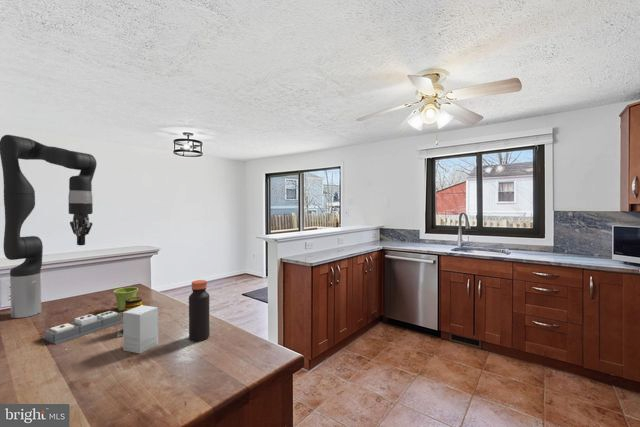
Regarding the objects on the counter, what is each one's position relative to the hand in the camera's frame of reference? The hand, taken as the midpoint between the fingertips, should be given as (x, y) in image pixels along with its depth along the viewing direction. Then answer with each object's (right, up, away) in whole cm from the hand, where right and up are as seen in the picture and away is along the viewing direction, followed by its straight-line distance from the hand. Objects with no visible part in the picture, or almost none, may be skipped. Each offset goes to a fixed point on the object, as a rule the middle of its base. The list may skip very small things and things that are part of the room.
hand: (81, 245), depth 120 cm
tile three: (+12, -30, -2) cm, 32 cm away
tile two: (+9, -29, -8) cm, 31 cm away
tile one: (+5, -30, -15) cm, 34 cm away
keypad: (+9, -31, -8) cm, 33 cm away
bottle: (+54, -32, -14) cm, 64 cm away
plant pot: (+9, -31, +14) cm, 35 cm away
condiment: (+26, -31, -9) cm, 42 cm away
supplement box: (+38, -32, -22) cm, 54 cm away
